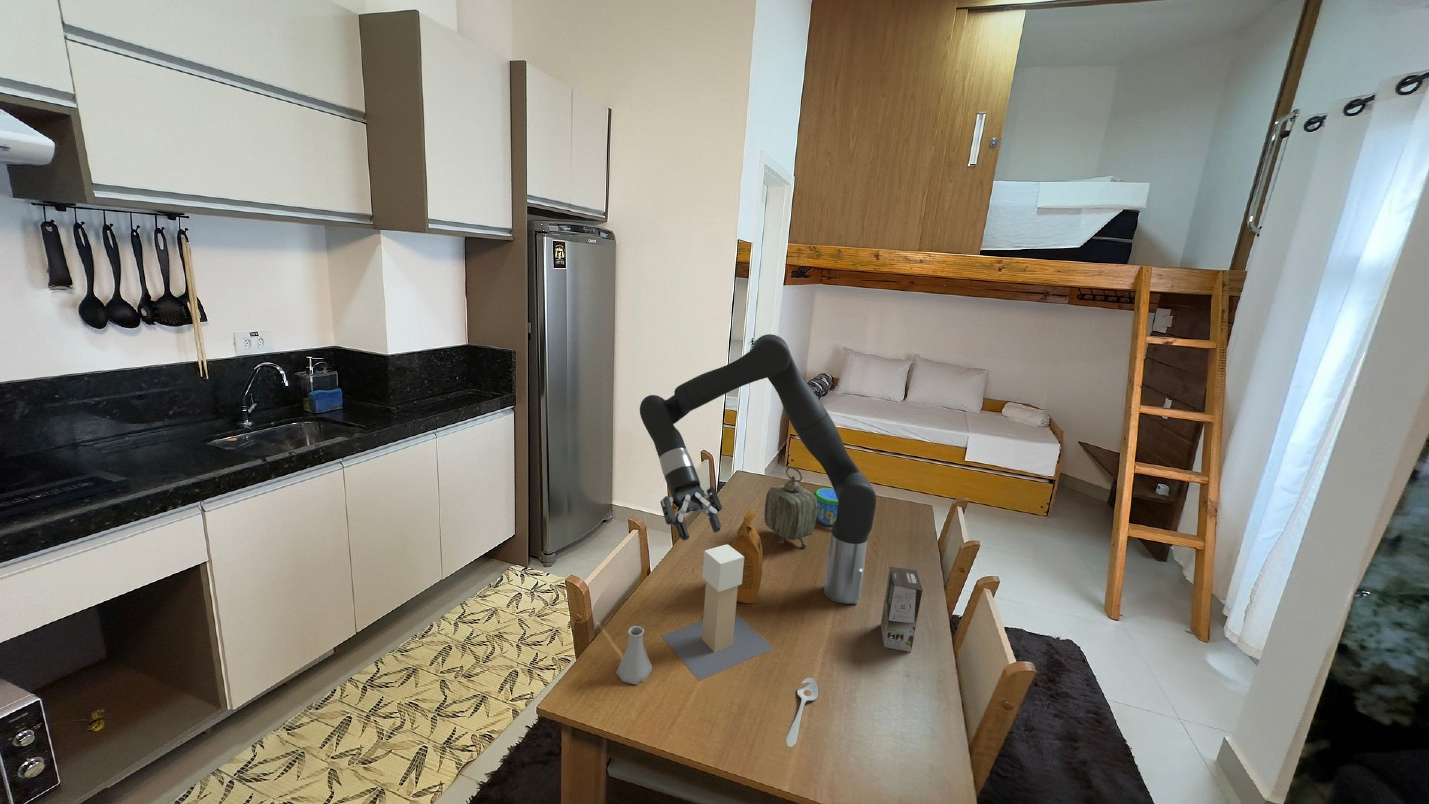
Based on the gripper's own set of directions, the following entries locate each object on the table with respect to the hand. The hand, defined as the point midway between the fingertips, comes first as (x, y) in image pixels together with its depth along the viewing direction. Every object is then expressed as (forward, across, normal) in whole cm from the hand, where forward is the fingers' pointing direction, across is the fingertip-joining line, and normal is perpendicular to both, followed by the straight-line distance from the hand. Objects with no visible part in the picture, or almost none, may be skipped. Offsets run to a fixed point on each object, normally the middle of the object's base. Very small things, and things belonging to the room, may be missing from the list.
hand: (702, 535), depth 126 cm
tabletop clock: (+3, +46, +30) cm, 55 cm away
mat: (+22, 0, +10) cm, 25 cm away
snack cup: (0, +70, +33) cm, 77 cm away
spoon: (+41, +2, -7) cm, 41 cm away
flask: (+22, -20, +12) cm, 31 cm away
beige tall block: (+22, 0, +10) cm, 24 cm away
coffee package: (+13, +18, +20) cm, 30 cm away
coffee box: (+36, +39, -3) cm, 53 cm away
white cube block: (+11, 0, -1) cm, 11 cm away
